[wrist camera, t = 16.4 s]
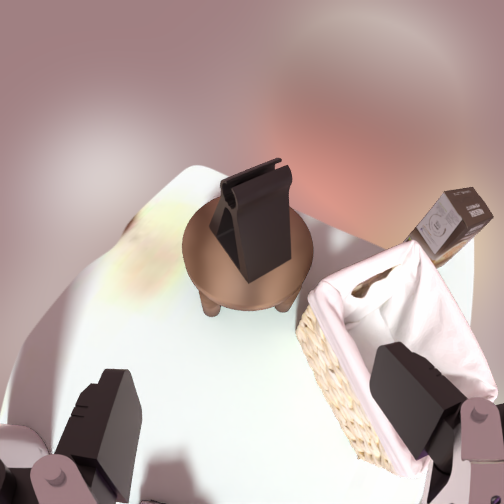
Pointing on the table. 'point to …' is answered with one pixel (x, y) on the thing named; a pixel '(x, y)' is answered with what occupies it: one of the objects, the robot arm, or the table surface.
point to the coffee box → (451, 224)
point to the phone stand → (255, 219)
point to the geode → (150, 502)
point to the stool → (228, 276)
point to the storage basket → (385, 332)
